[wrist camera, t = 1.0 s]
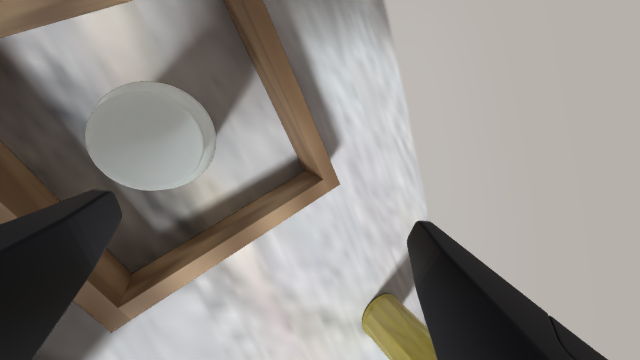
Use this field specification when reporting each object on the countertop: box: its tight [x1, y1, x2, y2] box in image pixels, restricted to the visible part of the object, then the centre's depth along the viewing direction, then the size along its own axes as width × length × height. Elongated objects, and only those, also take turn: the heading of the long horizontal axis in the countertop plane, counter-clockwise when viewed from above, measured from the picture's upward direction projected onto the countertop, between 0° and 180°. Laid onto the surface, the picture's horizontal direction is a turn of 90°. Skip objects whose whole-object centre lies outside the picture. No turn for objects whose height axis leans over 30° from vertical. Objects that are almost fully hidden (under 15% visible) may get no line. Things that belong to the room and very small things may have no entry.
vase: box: [362, 294, 437, 360], centre depth 27 cm, size 6×6×14 cm
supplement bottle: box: [85, 81, 216, 191], centre depth 14 cm, size 5×5×10 cm
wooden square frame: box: [0, 0, 340, 333], centre depth 16 cm, size 18×18×4 cm
